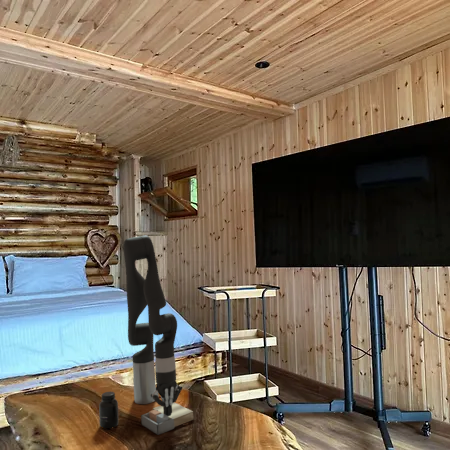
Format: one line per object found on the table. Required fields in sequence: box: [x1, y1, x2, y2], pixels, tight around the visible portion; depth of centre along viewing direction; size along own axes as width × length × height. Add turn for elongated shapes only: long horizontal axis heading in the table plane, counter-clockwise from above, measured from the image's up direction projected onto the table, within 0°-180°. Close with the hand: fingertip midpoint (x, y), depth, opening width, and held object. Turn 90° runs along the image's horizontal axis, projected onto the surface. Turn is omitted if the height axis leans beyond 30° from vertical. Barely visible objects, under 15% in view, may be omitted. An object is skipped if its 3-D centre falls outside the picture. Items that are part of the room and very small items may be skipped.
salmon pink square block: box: [148, 409, 161, 423], centre depth 156 cm, size 4×4×2 cm
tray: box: [140, 410, 175, 435], centre depth 154 cm, size 12×7×4 cm, turn 40°
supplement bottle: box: [98, 391, 119, 429], centre depth 157 cm, size 7×7×12 cm
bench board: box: [152, 402, 194, 428], centre depth 161 cm, size 14×9×3 cm, turn 40°
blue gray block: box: [157, 413, 169, 424], centre depth 152 cm, size 4×4×2 cm
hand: (167, 415), depth 154 cm, fingers closed
